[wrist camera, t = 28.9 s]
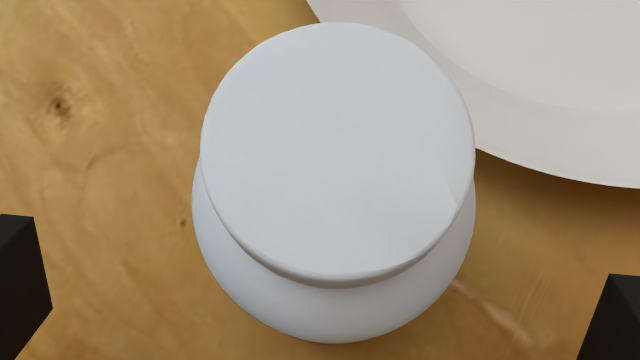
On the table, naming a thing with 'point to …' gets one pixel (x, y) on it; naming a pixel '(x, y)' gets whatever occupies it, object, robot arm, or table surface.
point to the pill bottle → (335, 182)
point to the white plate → (531, 75)
